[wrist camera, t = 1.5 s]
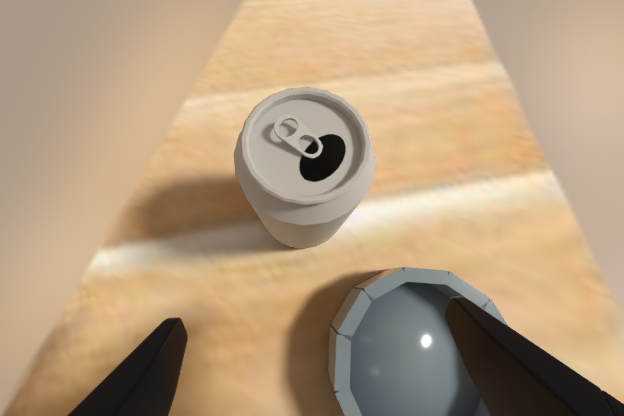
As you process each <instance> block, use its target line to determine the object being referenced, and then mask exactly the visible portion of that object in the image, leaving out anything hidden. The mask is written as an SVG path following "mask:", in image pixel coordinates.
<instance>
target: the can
mask: <svg viewBox="0 0 624 416" xmlns="http://www.w3.org/2000/svg"><path fill="white" fill-rule="evenodd" d="M375 159H376V158H375V154H374V150H373V146H372V142H371V138H370V135H369V131H368V127H367V125H366V123H365V122H364V120H363V118H362V117H361V115H360V114H359V112H358V111H357V110H356V109H355V108H354V107H353V106H352V105H350V104H349V103H348V102H347V101H346V100H345V99H343V98H341V97H339V96H337V95H335V94H333V93H331V92H328V91H326V90H321V89H315V88H310V87H303V88H291V89H286V90H283V91H281V92H278V93H275V94H273V95H270V96H269V97H267V98H266V99H265V100H263V101H262V102H261V103H259V104H258V105H257V106H255V108H254V109H253V111H252V112H251V113H250V115H249V116H248V118H247V119H246V121H245V123H244V126H243V130H242V131H241V133H240V134H239V137H238V141H237V144H236V148H235V151H234V163H235V175H236V177H237V179H238V181H239V184H240V186H241V188H242V190H243V192H244V194H245V196H246V198H247V199H248V201H249V202H250V204H251V206H252V207H253V209H254V210H255V212H256V214H257V215H258V217H259V218H260V220H261V222H262V223H263V225H264V227H265V228H266V230H267V231H268V232H269V233H270V234H271V235H272V236H273V237H274V238H275V239H276V240H277V241H279V242H281V243H283V244H285V245H287V246H290V247H295V248H301V249H302V248H309V247H315V246H318V245H320V244H322V243H324V242H326V241H327V240H328V239H329V238H330V237H331V236H332V235H333V234H334V233H336V232H337V230H338V229H339V228H340V227H341V225H342V224H343V223H344V222H345V220H346V219H347V218H348V217H349V215H350V214H351V213H352V212H353V210H354V209H355V208H356V207H357V206H358V204H359V203H360V202H361V201H362V199H363V198H364V197H365V195H366V193H367V191H368V189H369V186H370V184H371V182H372V180H373V178H374V168H375Z"/></svg>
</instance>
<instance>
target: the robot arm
mask: <svg viewBox="0 0 624 416" xmlns="http://www.w3.org/2000/svg"><path fill="white" fill-rule="evenodd" d="M444 315H445V320H446V322H447V325H448V327H449V330H450V332H451V335H452V337H453V339H454V342H455V344H456V347H457V349H458V351H459V354H460V356H461V359H462V361H463V363H464V365H465V367H466V369H467V371H468V373H469V375H470V377H471V379H472V381H473V383H474V385H475V387H476V389H477V391H478V393H479V395H480V396H481V398H482V400H483V402H484V404H485V406H486V408H487V410H488V412H489V414H490V416H624V404H623V403H621V402H620V401H618V400H617V399H615V398H614V397H612V396H611V395H609V394H608V393H606V392H605V391H601V389H600V388H599V387H597V386H596V385H594V384H593V383H592V382H590V381H589V380H587V379H586V378H584V377H583V376H581V375H580V374H578V373H577V372H575V371H574V370H572V369H571V368H569V367H568V366H566V365H565V364H563V363H562V362H560V361H559V360H557V359H556V358H554V357H553V356H551V355H550V354H549V353H547V352H546V351H544V350H543V349H541V348H540V347H538V346H537V345H535V344H534V343H532V342H531V341H529V340H528V339H526V338H525V337H523V336H522V335H520V334H519V333H517V332H516V331H514V330H513V329H511V328H510V327H509V326H507V325H506V324H504V323H503V322H501V321H500V320H498V319H497V318H495V317H494V316H492V315H491V314H489V313H488V312H486V311H485V310H483V309H482V308H480V307H479V306H477V305H476V304H474V303H473V302H471V301H470V300H468V299H467V298H465V297H463V296H457V297H451V298H450V299H449V302H448V304H447V307H446V310H445V314H444ZM186 343H187V332H186V329H185V327H184V324H183V322H182V319H181V318H168V319H166V320H164V321H163V322H162V323H161V324H160V325H159V326H158V327H157V328H156V329H155V330H154V331H153V332H152V333H151V334H150V335H149V336H148V337H147V338H146V339H145V340H144V341H143V342H142V343H141V344H140V345H139V346H138V347H137V348H136V349H135V350H134V351H133V352H132V353H131V354H130V355H129V356H128V357H127V358H126V359H124V360H123V361H122V362H121V363H120V364H119V365H118V366H117V367H116V368H115V369H114V370H113V371H112V372H111V373H110V374H109V375H108V376H107V377H106V378H105V379H104V380H103V381H102V382H101V383H100V384H99V385H98V386H97V387H96V388H95V389H94V390H93V391H92V392H91V393H90V394H89V395H88V396H87V397H86V398H85V399H84V400H83V401H82V402H81V403H80V404H79V405H78V406H77V407H76V408H75V409H74V410H73V411H72V412H71V413H70V414H69V415H68V416H168V414H169V411H170V408H171V405H172V402H173V399H174V395H175V392H176V388H177V384H178V379H179V375H180V370H181V366H182V361H183V357H184V352H185V348H186Z"/></svg>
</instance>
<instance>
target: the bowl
mask: <svg viewBox="0 0 624 416" xmlns="http://www.w3.org/2000/svg"><path fill="white" fill-rule="evenodd" d="M457 296H463V297H465V298H467V299H468V300H470V301H471V302H473V303H474V304H476V305H477V306H479V307H480V308H482V309H483V310H485V311H486V312H488V313H489V314H491V315H492V316H494V317H495V318H497V319H498V320H500V321H501V322H503V323H504V324H506V322H505V320H504V319H503V317H502V316H501V314H500V312H499V311H498V309H497V308H496V306H495V304H494V303H493V301H492V300H489V299H490V298H489V297H488V296H486V295H485V294H483V293H482V292H480V291H479V290H477V289H476V288H474V287H473V286H471V285H469V284H468V283H466V282H465V281H463V280H462V279H460V278H459V277H457V276H456V275H454V274H453V273H451V272H448V271H443V270H430V269H418V268H405V267H404V268H395V269H388V270H385V271H383V272H381V273H379V274H377V275H375V276H373V277H371V278H369V279H367V280H365V281H364V282H362V283H360V284H358V285H356V286H354V289H353V288H352V289H351V291H350V292H349V294H348V296H347V297H346V299H345V301H344V302H343V304H342V306H341V307H340V309H339V311H338V312H337V314H336V316H335V317H334V319H333V321H332V322H331V324H332V325H333V326H331V325H330V341H329V361H328V373H329V377H330V380H331V383H332V386H333V389H334V392H335V395H336V397H337V400H338V402H339V404H340V406H341V409H342V411H343V413H344V416H490V414H489V412H488V410H487V408H486V406H485V404H484V402H483V400H482V398H481V396H480V395H479V393H478V391H477V389H476V387H475V385H474V383H473V381H472V379H471V377H470V375H469V373H468V371H467V369H466V367H465V365H464V363H463V361H462V359H461V356H460V354H459V351H458V349H457V347H456V344H455V342H454V339H453V337H452V335H451V332H450V330H449V327H448V325H447V322H446V320H445V315H444V314H445V310H446V307H447V304H448V302H449V299H450V298H451V297H457ZM506 325H507V324H506ZM507 326H508V325H507Z"/></svg>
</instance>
